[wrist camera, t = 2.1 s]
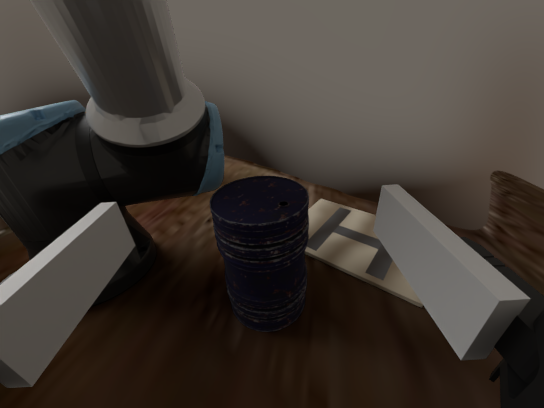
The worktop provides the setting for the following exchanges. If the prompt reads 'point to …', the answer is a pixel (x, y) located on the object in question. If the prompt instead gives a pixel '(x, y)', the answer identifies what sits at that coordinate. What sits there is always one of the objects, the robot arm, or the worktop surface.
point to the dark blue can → (263, 248)
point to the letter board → (354, 248)
